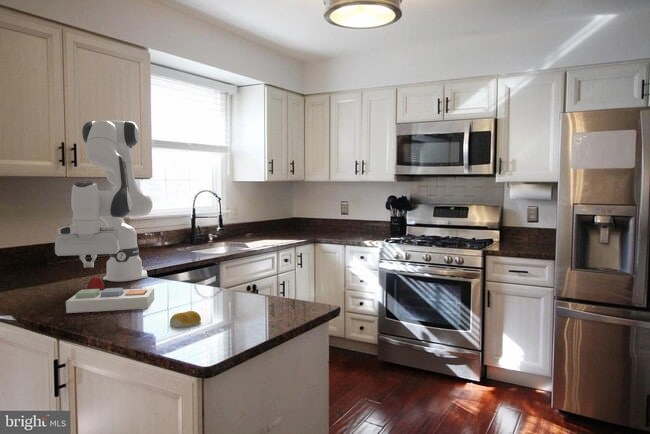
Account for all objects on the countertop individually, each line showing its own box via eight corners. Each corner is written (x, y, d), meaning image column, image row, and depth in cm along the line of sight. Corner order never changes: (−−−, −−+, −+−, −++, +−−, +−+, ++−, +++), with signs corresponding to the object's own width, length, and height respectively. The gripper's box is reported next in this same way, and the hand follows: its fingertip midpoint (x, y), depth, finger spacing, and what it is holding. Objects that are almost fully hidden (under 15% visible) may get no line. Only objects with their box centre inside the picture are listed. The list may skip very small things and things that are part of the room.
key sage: (81, 297, 167) (81, 289, 166) (99, 296, 168) (99, 288, 168) (76, 302, 161) (75, 293, 161) (95, 301, 162) (94, 292, 162)
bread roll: (206, 322, 146) (205, 310, 145) (182, 330, 138) (181, 317, 138) (189, 318, 150) (188, 306, 150) (165, 325, 143) (164, 312, 143)
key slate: (105, 296, 168) (105, 288, 168) (123, 295, 169) (123, 287, 169) (101, 300, 162) (100, 292, 162) (119, 299, 164) (119, 291, 163)
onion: (86, 297, 177) (85, 277, 177) (89, 294, 183) (88, 274, 182) (103, 296, 179) (102, 276, 178) (105, 293, 184) (105, 273, 184)
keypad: (79, 302, 170) (79, 291, 170) (154, 298, 175) (154, 288, 175) (66, 313, 157) (65, 301, 156) (147, 308, 162) (147, 297, 161)
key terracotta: (129, 298, 170) (129, 290, 170) (146, 297, 171) (146, 289, 171) (125, 302, 164) (125, 294, 164) (143, 301, 165) (143, 293, 165)
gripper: (120, 226, 168) (122, 264, 169) (58, 228, 164) (60, 266, 165) (116, 228, 162) (118, 267, 163) (51, 229, 157) (54, 270, 158)
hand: (88, 267), depth 164 cm, fingers closed
